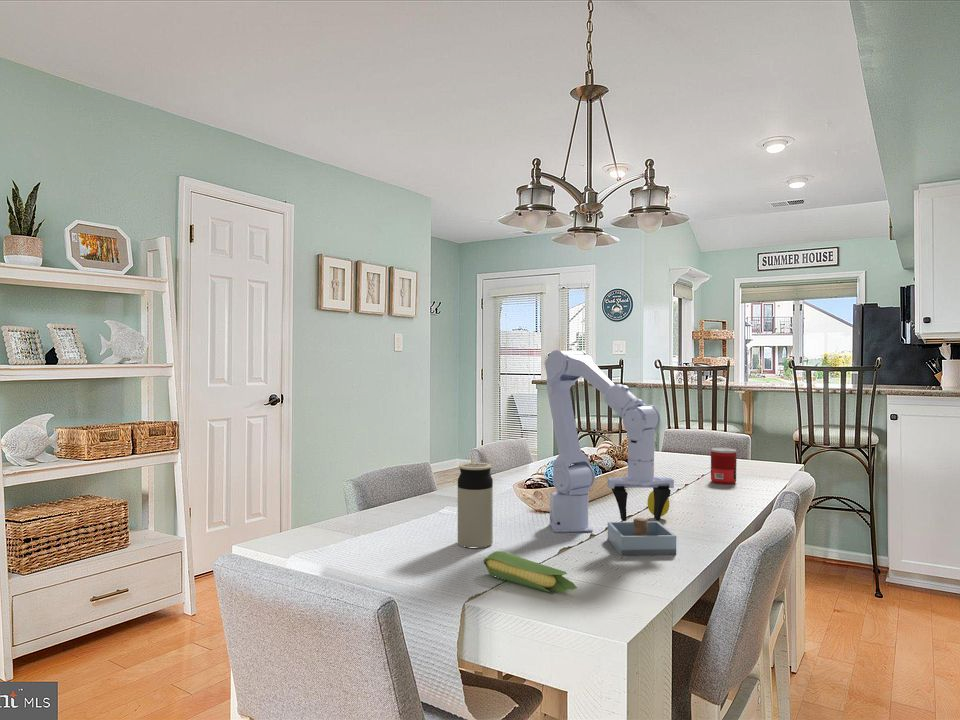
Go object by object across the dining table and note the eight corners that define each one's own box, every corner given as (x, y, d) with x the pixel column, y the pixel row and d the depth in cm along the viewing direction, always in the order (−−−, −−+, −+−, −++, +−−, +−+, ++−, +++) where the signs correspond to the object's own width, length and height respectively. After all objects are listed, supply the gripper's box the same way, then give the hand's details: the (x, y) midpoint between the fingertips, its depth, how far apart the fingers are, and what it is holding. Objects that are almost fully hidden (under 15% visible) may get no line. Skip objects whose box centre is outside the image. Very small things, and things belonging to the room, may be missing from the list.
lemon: (670, 521, 168) (670, 490, 168) (647, 520, 169) (648, 489, 169) (668, 516, 174) (668, 486, 174) (646, 515, 175) (647, 485, 175)
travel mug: (497, 547, 146) (497, 467, 146) (462, 550, 144) (462, 468, 144) (486, 537, 154) (486, 461, 154) (453, 540, 152) (453, 462, 151)
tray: (621, 555, 141) (621, 536, 141) (607, 539, 153) (607, 522, 153) (676, 554, 141) (676, 536, 141) (658, 538, 153) (658, 521, 153)
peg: (634, 548, 146) (634, 521, 146) (632, 544, 149) (632, 517, 149) (648, 548, 146) (648, 521, 145) (646, 544, 149) (646, 518, 148)
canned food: (739, 484, 215) (740, 451, 214) (715, 484, 215) (715, 451, 215) (731, 480, 222) (731, 447, 222) (707, 479, 222) (707, 447, 222)
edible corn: (495, 548, 132) (482, 546, 129) (580, 573, 119) (568, 572, 116) (490, 574, 131) (476, 573, 128) (575, 602, 118) (562, 602, 115)
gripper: (613, 462, 142) (612, 524, 143) (679, 462, 143) (678, 524, 143) (605, 457, 149) (605, 516, 150) (668, 456, 150) (667, 515, 150)
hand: (640, 519), depth 147 cm, fingers open, 7 cm apart
